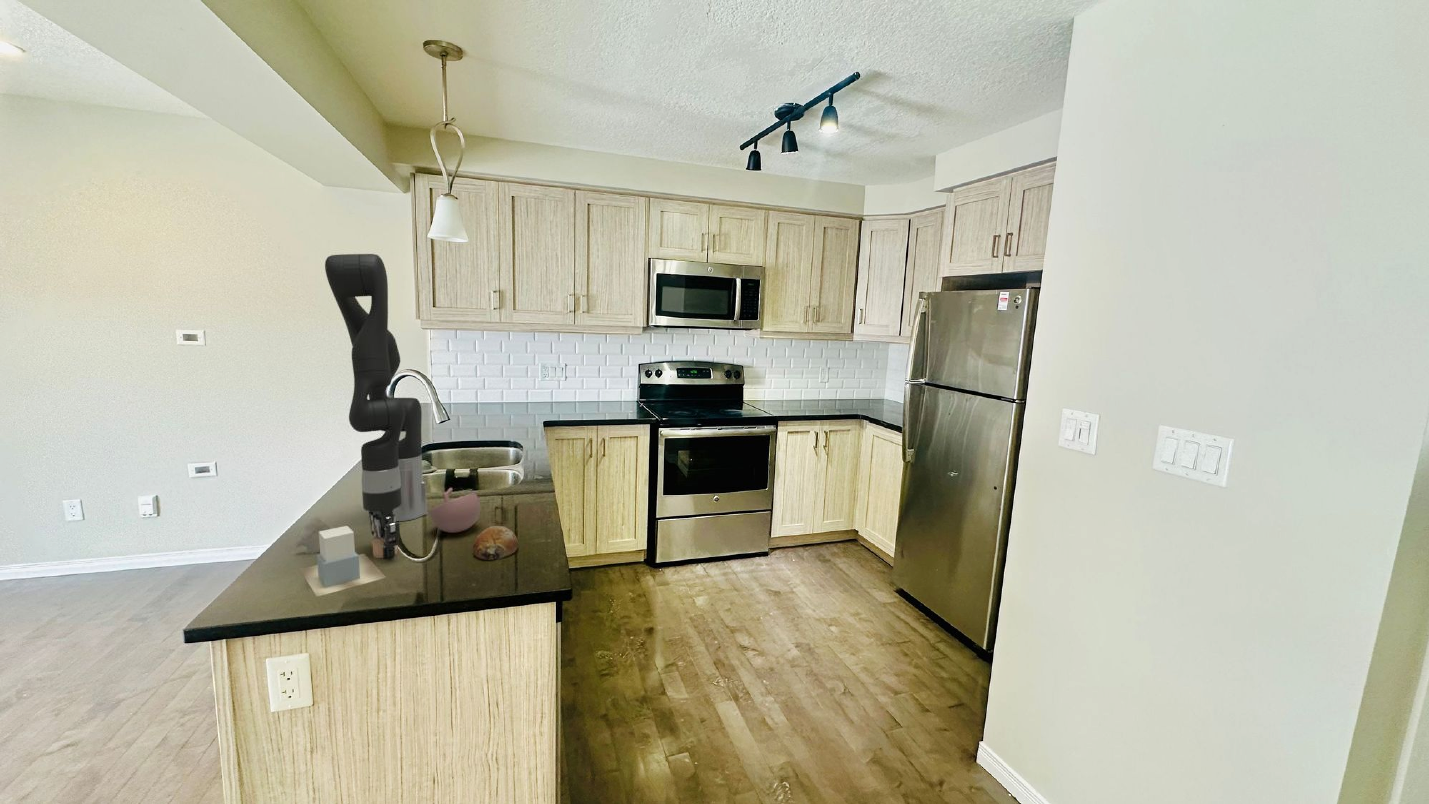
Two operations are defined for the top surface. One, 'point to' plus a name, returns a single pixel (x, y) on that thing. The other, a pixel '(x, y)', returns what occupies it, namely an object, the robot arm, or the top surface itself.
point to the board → (366, 575)
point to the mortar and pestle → (456, 513)
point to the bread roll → (495, 543)
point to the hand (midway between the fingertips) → (385, 558)
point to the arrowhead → (311, 535)
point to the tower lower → (338, 570)
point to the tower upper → (336, 543)
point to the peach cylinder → (379, 548)
